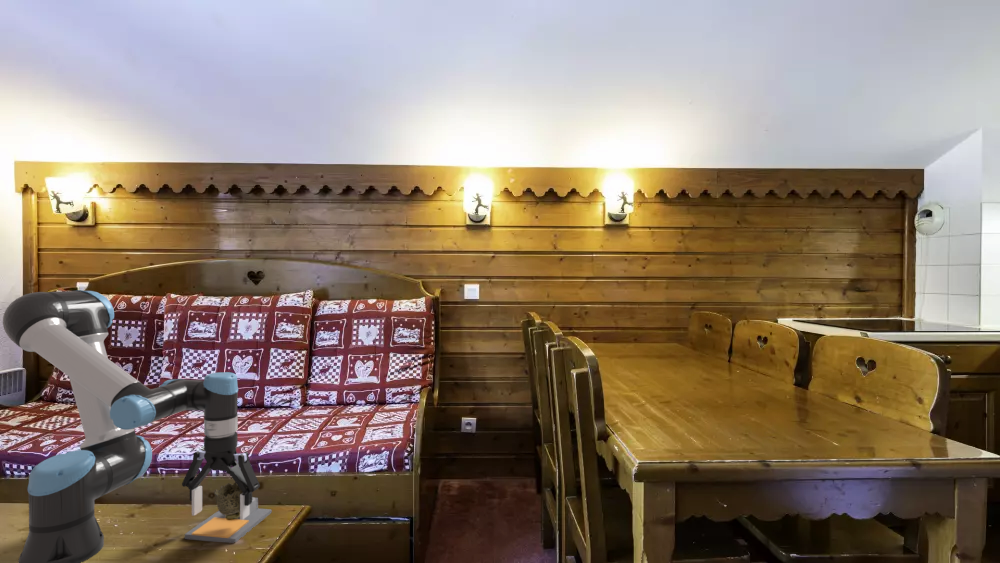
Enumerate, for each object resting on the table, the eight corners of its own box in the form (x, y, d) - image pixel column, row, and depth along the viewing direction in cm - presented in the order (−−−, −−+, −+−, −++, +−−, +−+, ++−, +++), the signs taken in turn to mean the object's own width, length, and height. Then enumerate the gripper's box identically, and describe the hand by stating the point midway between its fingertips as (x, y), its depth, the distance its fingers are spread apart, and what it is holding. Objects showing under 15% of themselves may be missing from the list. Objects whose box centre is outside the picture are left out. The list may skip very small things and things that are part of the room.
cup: (235, 525, 120) (232, 494, 120) (210, 525, 122) (207, 493, 122) (256, 511, 127) (253, 481, 127) (231, 510, 129) (229, 481, 129)
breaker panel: (184, 538, 122) (184, 522, 122) (225, 509, 137) (225, 495, 137) (235, 543, 120) (235, 526, 120) (271, 513, 135) (271, 498, 135)
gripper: (165, 435, 122) (165, 518, 123) (256, 441, 119) (256, 526, 120) (188, 426, 130) (188, 504, 130) (274, 431, 127) (274, 511, 127)
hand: (220, 515), depth 125 cm, fingers open, 13 cm apart
